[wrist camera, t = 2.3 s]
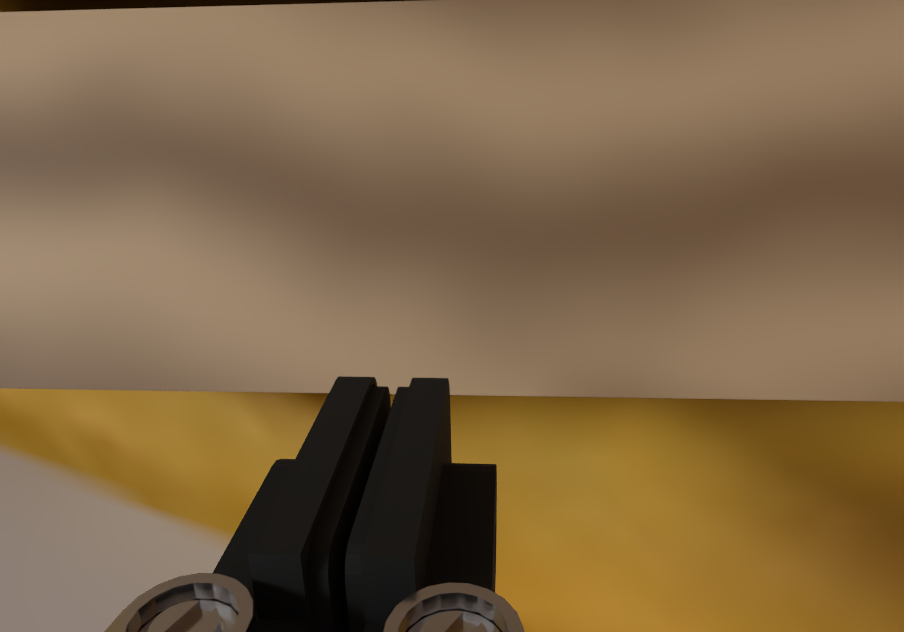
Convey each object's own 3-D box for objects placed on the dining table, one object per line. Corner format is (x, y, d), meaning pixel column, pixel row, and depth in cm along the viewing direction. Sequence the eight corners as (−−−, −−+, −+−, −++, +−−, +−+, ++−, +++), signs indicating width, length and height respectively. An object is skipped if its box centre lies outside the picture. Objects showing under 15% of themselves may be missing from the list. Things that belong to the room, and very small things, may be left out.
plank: (14, 25, 18) (-21, 0, 17) (903, 2, 17) (933, -27, 15) (-12, 386, 17) (-51, 387, 16) (921, 400, 16) (956, 402, 14)
